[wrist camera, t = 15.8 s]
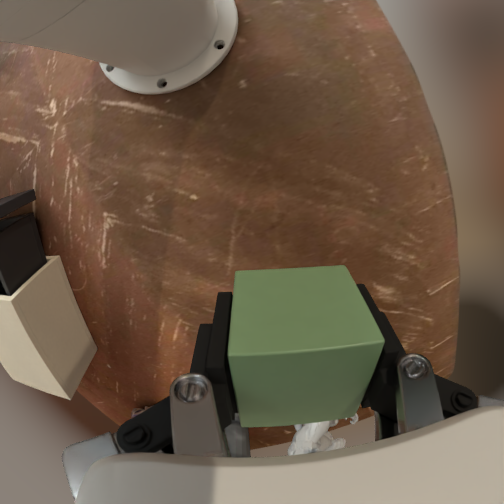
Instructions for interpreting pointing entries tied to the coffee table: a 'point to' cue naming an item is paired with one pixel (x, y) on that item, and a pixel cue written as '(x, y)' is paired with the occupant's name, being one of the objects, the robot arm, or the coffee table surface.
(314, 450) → the figurine
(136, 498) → the robot arm
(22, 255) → the dark grey drawer
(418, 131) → the coffee table surface
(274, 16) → the coffee table surface
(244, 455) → the beverage cup
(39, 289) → the cream drawer box
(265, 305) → the block
